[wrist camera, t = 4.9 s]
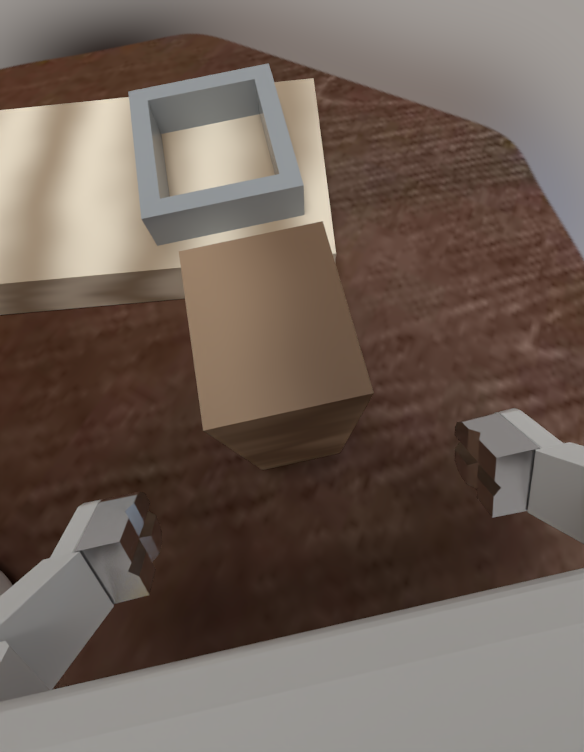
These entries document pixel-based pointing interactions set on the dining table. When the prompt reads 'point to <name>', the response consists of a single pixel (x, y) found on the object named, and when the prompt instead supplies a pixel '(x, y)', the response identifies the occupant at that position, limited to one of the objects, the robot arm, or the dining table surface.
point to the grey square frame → (224, 203)
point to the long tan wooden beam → (274, 346)
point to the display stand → (126, 198)
